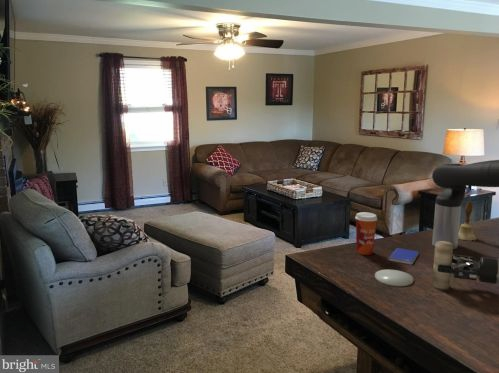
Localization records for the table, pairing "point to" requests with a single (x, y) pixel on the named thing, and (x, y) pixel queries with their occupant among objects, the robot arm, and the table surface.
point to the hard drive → (403, 256)
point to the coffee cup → (365, 232)
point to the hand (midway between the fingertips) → (438, 263)
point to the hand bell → (467, 225)
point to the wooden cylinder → (444, 258)
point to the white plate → (394, 277)
